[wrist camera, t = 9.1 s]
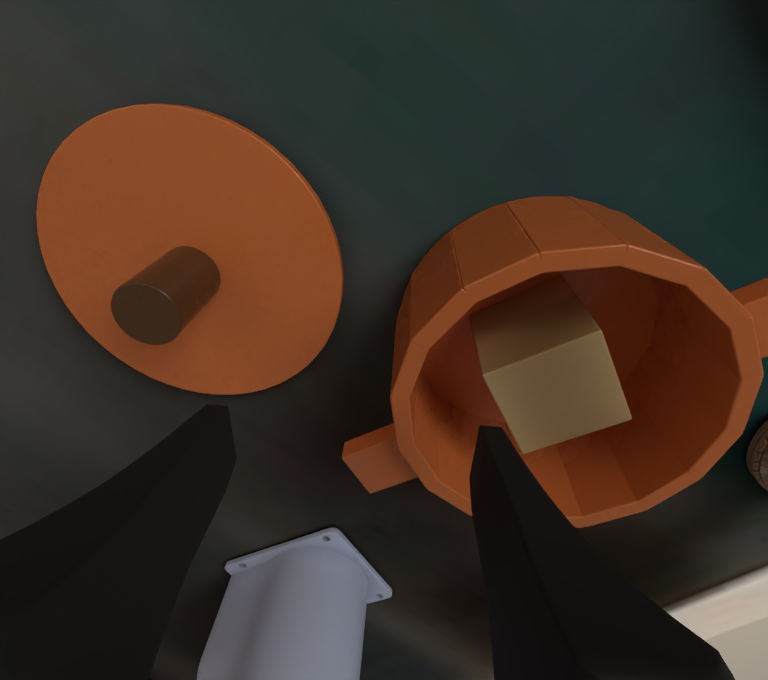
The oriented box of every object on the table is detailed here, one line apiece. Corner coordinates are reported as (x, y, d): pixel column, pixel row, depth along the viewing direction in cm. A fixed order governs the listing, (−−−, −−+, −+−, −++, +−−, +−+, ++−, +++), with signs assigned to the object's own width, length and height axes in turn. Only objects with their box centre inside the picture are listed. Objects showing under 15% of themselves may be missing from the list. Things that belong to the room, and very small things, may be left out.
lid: (397, 319, 22) (393, 381, 18) (190, 415, 26) (144, 485, 21) (220, 26, 16) (148, 9, 12) (-10, 206, 20) (-128, 242, 16)
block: (502, 384, 23) (522, 455, 19) (468, 314, 21) (481, 376, 17) (590, 351, 22) (633, 420, 17) (561, 274, 20) (602, 329, 16)
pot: (754, 354, 22) (870, 450, 16) (420, 470, 27) (421, 573, 21) (703, 97, 17) (845, 109, 11) (302, 302, 22) (264, 380, 16)
